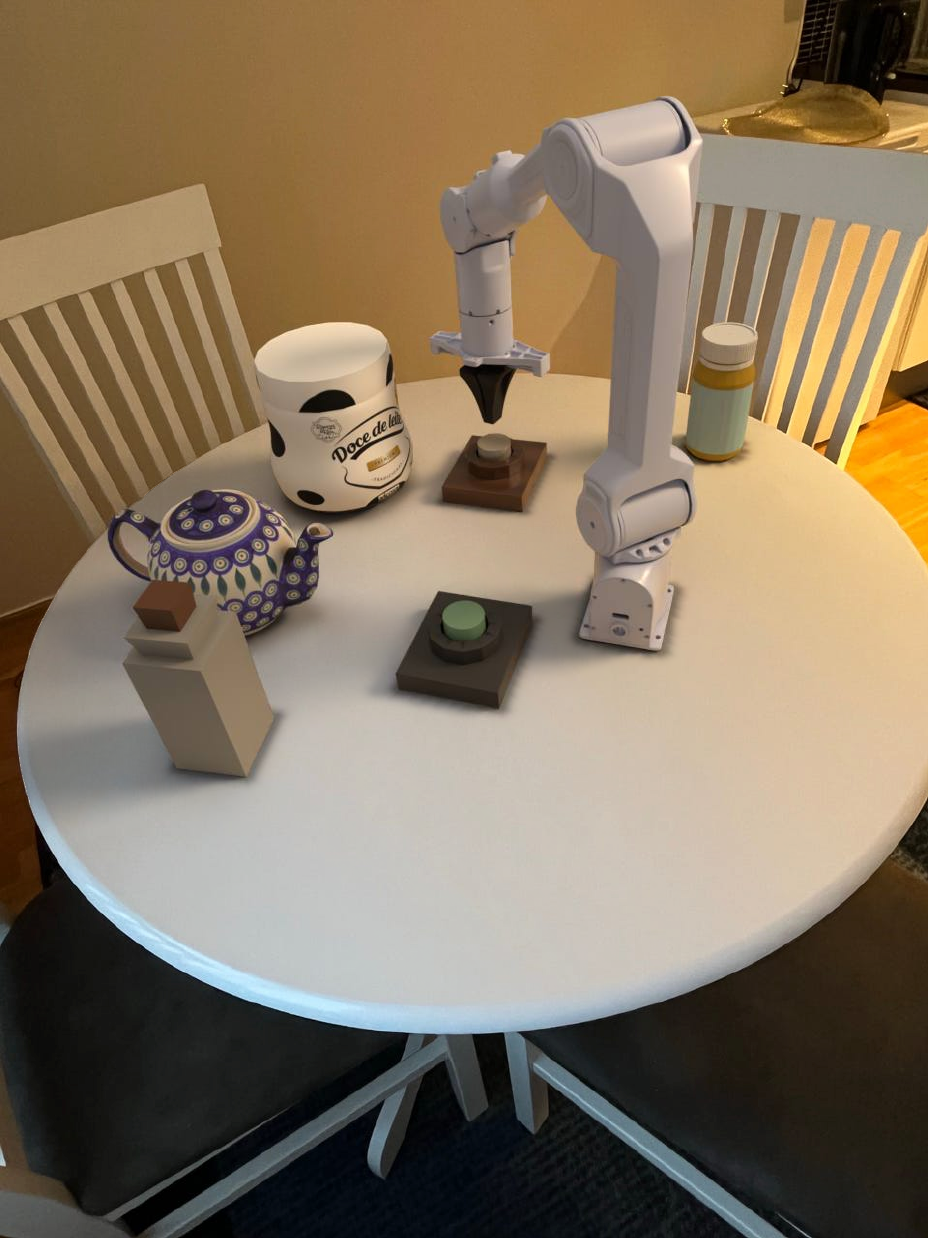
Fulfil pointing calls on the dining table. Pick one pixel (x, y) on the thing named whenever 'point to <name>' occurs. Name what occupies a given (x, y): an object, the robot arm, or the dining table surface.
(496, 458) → the grey button cap
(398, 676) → the push button front
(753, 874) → the dining table surface
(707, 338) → the bottle
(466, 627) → the green button cap
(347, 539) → the dining table surface
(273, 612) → the teapot
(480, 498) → the push button back
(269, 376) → the doce de leite jar
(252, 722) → the perfume bottle
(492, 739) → the dining table surface
